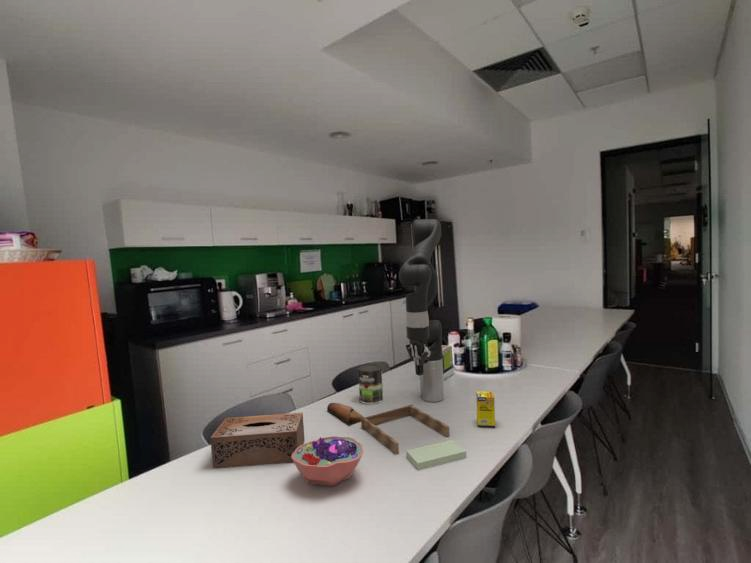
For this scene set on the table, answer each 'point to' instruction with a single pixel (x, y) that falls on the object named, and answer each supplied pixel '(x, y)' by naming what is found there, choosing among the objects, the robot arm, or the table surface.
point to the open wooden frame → (380, 418)
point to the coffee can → (370, 384)
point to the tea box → (447, 361)
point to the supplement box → (485, 409)
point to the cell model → (328, 459)
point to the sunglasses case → (345, 413)
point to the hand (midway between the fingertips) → (419, 374)
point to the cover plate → (435, 454)
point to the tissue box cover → (257, 440)
